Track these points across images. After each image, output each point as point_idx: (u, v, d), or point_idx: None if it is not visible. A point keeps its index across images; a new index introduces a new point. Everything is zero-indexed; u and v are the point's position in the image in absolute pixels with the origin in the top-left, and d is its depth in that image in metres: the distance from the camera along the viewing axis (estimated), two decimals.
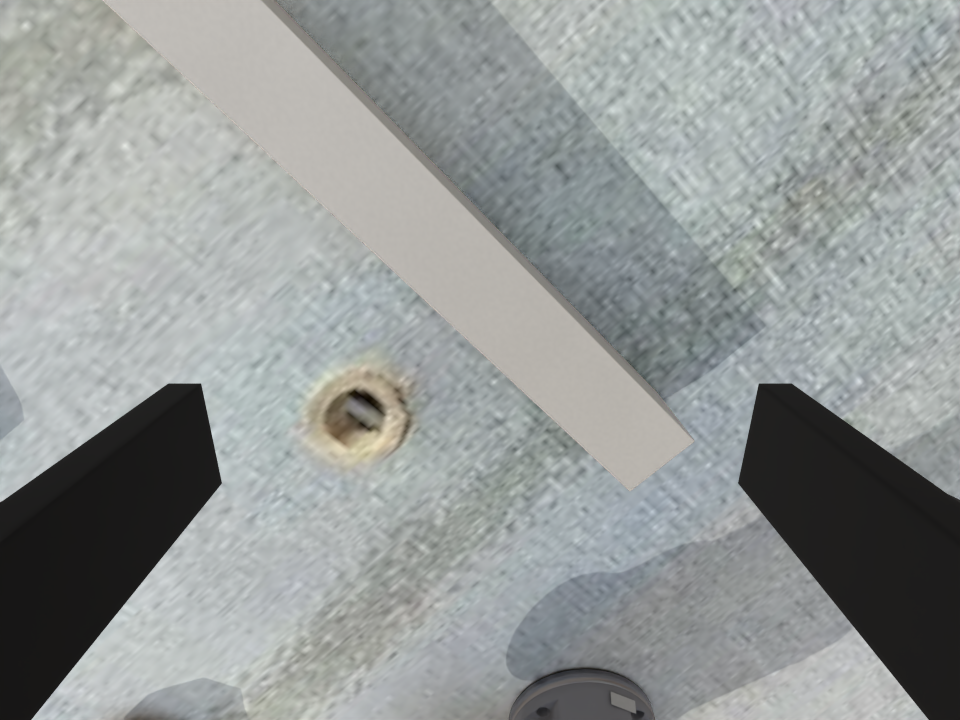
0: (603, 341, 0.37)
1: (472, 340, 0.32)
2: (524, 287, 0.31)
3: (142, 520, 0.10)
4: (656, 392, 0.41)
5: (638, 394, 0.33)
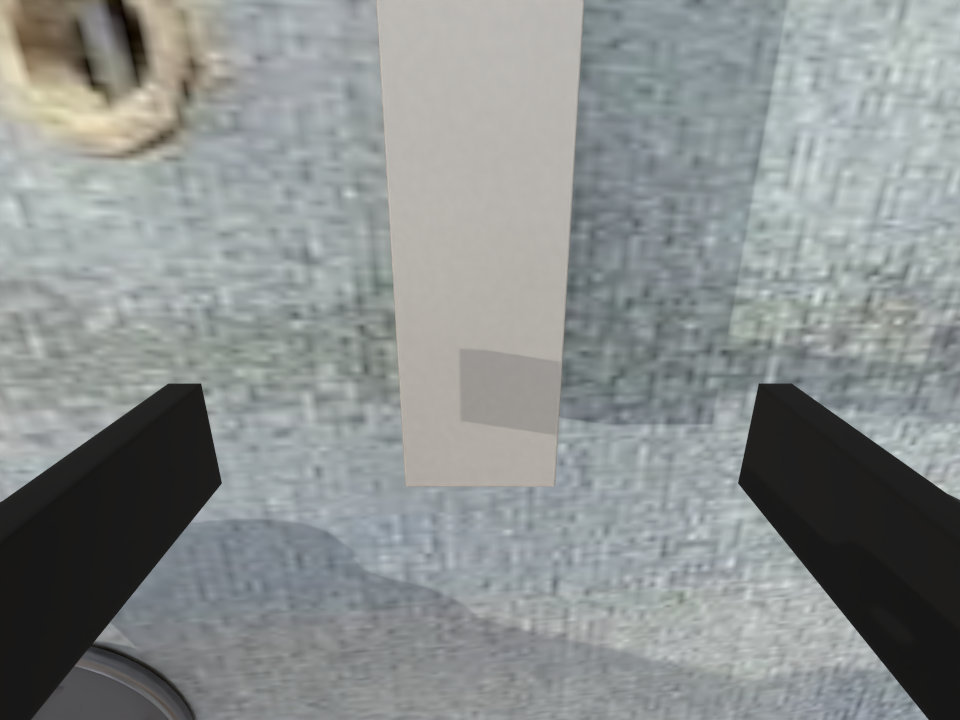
0: None
1: None
2: None
3: (142, 520, 0.10)
4: None
5: (548, 352, 0.17)
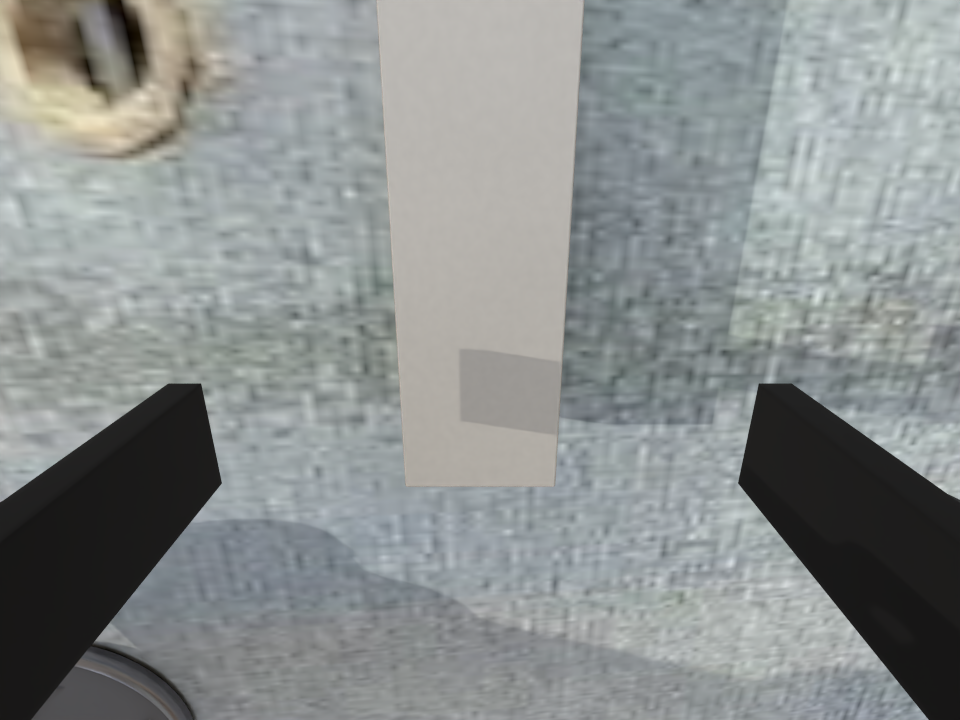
0: None
1: None
2: None
3: (142, 520, 0.10)
4: None
5: (548, 352, 0.17)
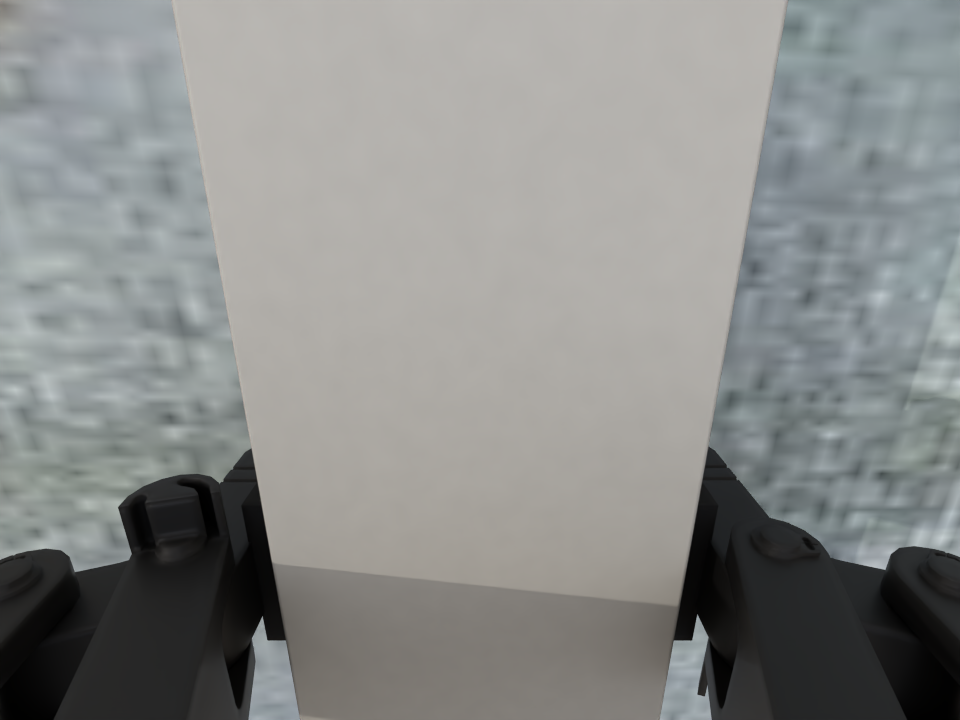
0: None
1: None
2: None
3: None
4: None
5: (643, 619, 0.07)
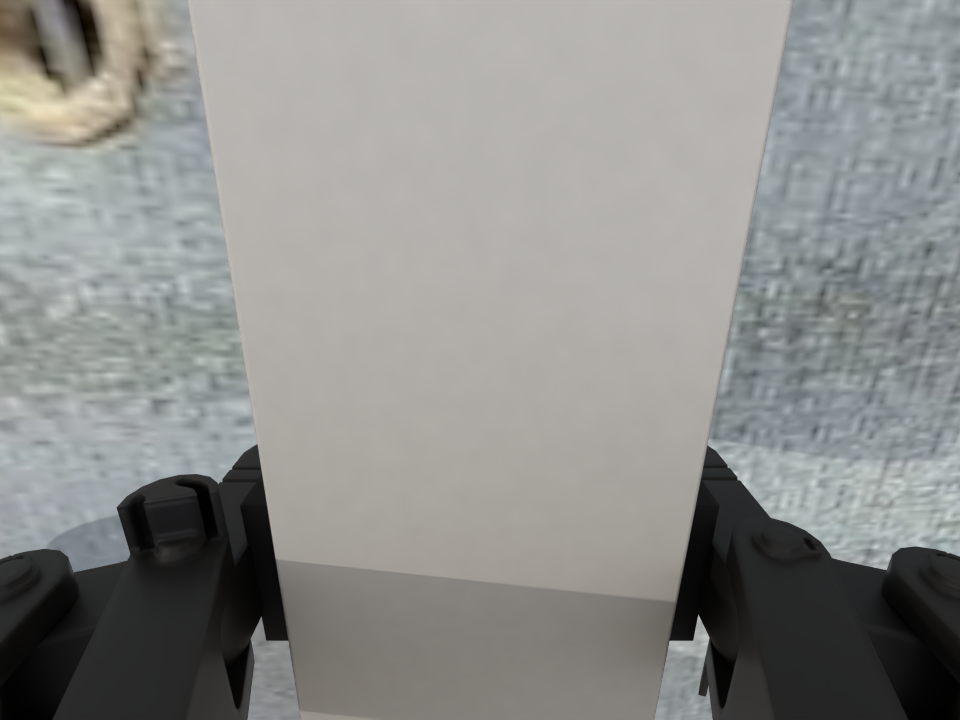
0: None
1: None
2: None
3: None
4: None
5: (641, 612, 0.07)
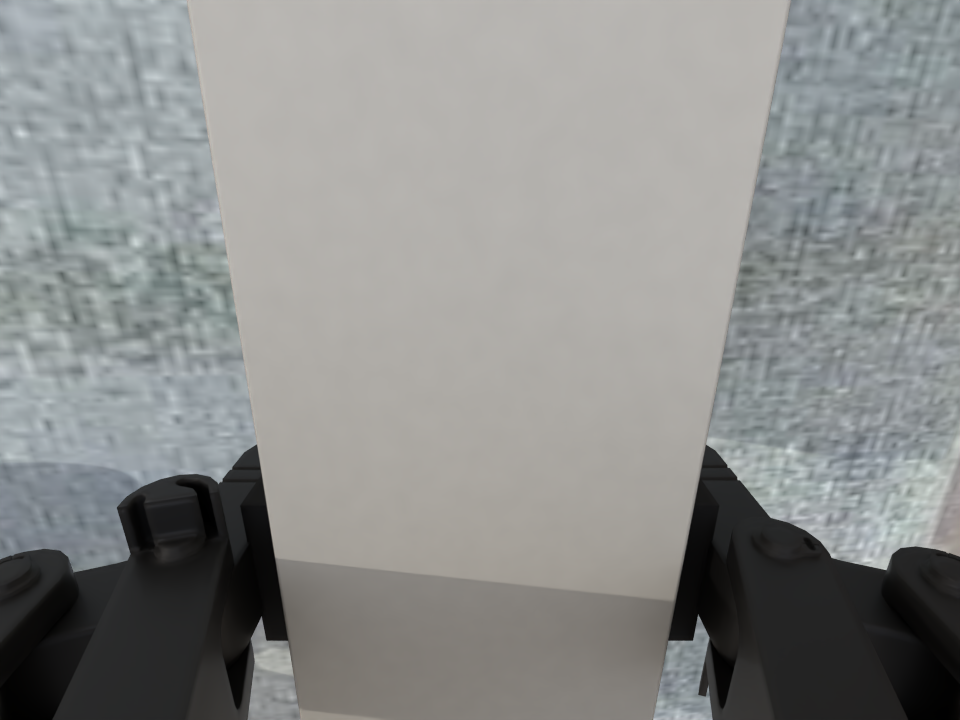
0: None
1: None
2: None
3: None
4: None
5: (639, 611, 0.07)
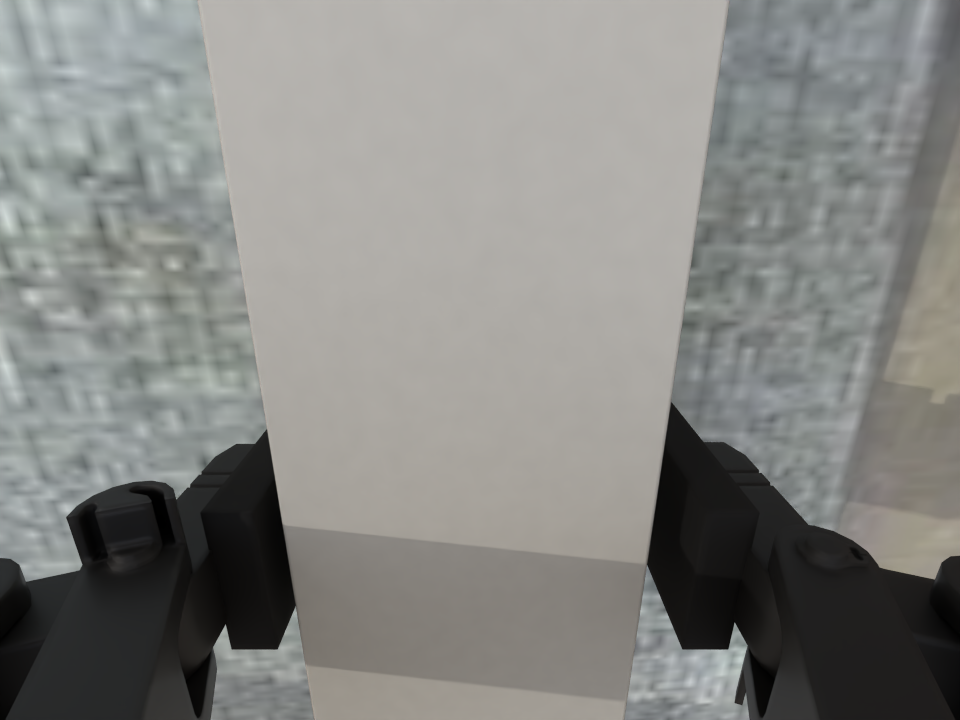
0: None
1: None
2: None
3: None
4: None
5: (616, 564, 0.08)
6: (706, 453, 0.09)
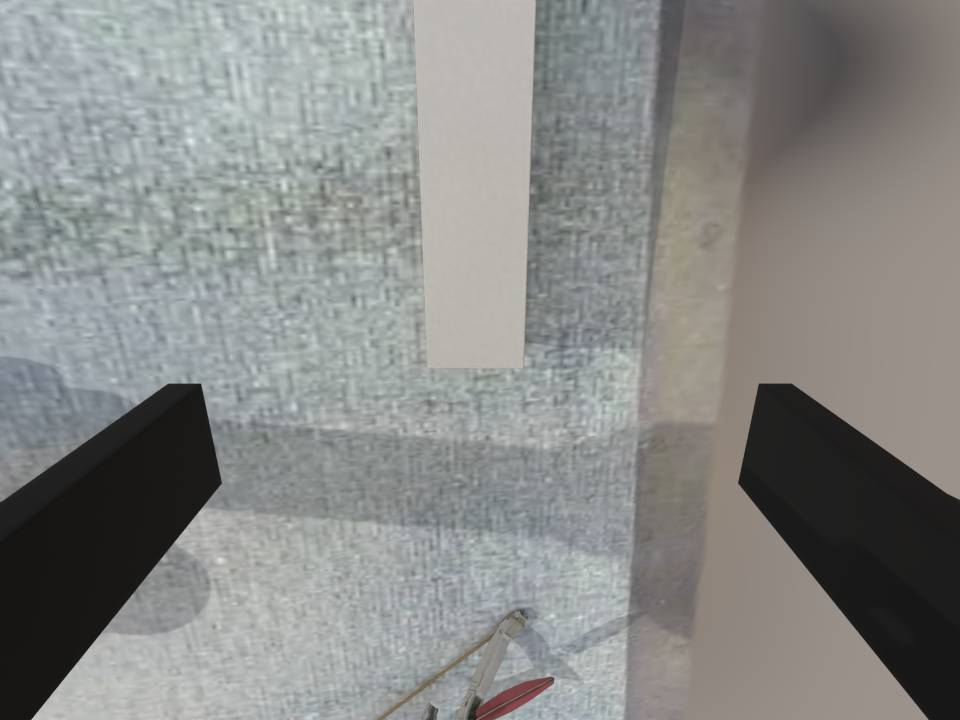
0: None
1: (420, 62, 0.24)
2: (517, 60, 0.24)
3: (142, 520, 0.10)
4: None
5: (517, 277, 0.28)
6: None
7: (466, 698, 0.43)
